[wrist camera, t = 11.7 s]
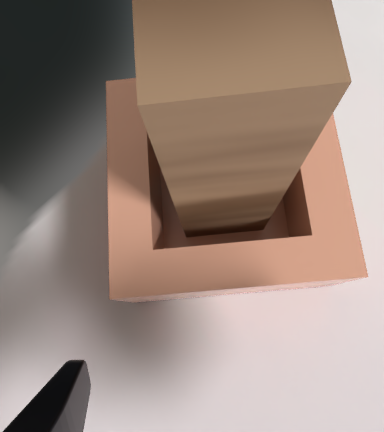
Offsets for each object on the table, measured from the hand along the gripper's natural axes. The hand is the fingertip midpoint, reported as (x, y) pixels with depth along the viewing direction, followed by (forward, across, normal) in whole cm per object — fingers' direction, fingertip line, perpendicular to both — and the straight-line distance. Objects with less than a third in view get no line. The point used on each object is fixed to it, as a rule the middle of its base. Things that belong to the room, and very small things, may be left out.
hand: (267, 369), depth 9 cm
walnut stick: (+11, 0, 0) cm, 11 cm away
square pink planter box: (+12, 0, +1) cm, 12 cm away
